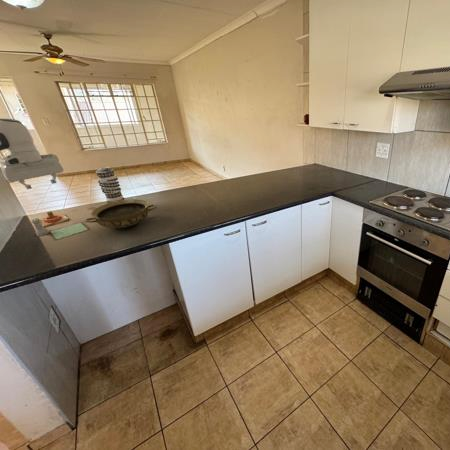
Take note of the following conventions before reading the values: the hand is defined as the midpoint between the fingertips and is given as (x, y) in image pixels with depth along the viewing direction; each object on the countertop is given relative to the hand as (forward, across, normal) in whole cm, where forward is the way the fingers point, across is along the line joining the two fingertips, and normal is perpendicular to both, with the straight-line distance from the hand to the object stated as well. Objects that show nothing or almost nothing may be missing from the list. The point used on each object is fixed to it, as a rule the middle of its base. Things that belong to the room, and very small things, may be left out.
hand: (42, 185), depth 119 cm
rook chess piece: (+21, +10, +6) cm, 24 cm away
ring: (+19, +1, -6) cm, 20 cm away
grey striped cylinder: (+21, -24, +10) cm, 33 cm away
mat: (+20, +2, +14) cm, 25 cm away
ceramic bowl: (+20, -14, +34) cm, 42 cm away
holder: (+21, +1, -6) cm, 21 cm away
